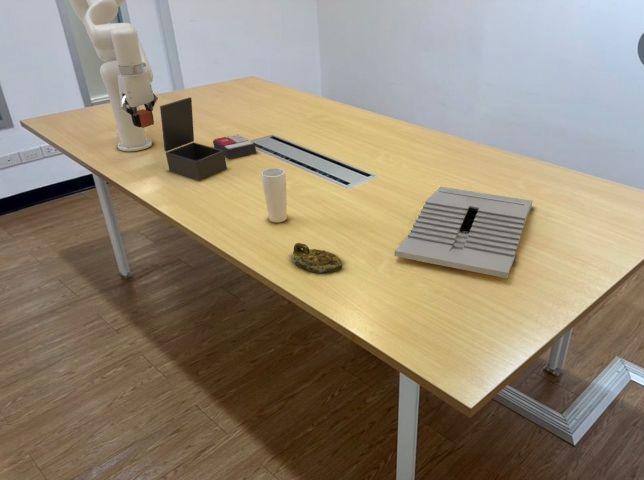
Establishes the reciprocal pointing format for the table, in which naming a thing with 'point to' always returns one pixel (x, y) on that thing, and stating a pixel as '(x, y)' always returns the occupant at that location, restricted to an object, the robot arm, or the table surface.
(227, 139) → the calculator
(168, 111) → the case lid
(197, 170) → the case
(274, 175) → the drinking glass
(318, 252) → the seal
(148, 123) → the block
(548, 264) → the table surface
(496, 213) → the grey grooved board
